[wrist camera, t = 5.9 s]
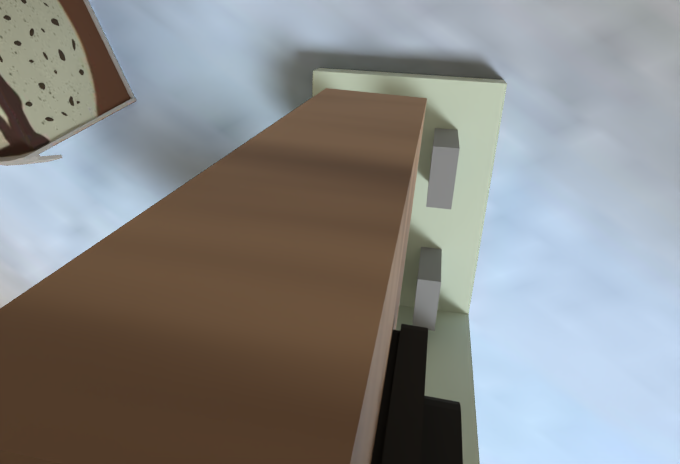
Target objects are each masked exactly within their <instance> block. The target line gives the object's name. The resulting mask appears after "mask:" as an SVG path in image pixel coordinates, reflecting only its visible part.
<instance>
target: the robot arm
mask: <svg viewBox="0 0 680 464" xmlns="http://www.w3.org/2000/svg"><path fill="white" fill-rule="evenodd" d="M427 343H428V328H426V327H419V326H413V325H407V324H401V329H400V331H399V330H393V333H392V339H391V345H390V351H389V357H388V364H387V370H386V376H385V382H384V388H383V394H382V400H381V406H380V412H379V418H378V424H377V430H376V436H375V442H374V448H373V454H372V461H371V464H463V451H462V423H461V405H460V402H457V401H452V400H446V399H441V398H435V397H430V396H424V395H425V378H426V360H427Z"/></svg>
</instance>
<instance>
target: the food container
mask: <svg viewBox="0 0 680 464" xmlns="http://www.w3.org/2000/svg"><path fill="white" fill-rule="evenodd" d="M135 101H136V99H135V97H134V95H133V93H132V91H131V89H130V86H129V84H128V82H127V80H126V78H125V76H124V74H123V72H122V70H121V68H120V66H119V64H118V61H117V59H116V57H115V55H114V53H113V51H112V49H111V47H110V45H109V43H108V41H107V38H106V36H105V34H104V32H103V30H102V28H101V26H100V24H99V22H98V20H97V18H96V16H95V13H94V11H93V9H92V7H91V5H90V3H89V1H88V0H0V165H6V166H8V165H23V164H32V163H42V162H49V161H53V160H56V159H60V158H62V156H61V155H53V156H41V157H40V155H39V154H40V153H42V152H44V151H45V150H47V149H49V148H51V147H53V146H55V145H56V144H58V143H60V142H62V141H64V140H66V139H67V138H69V137H71V136H73V135H75V134H77V133H78V132H80V131H82V130H84V129H86V128H87V127H89V126H91V125H93V124H95V123H97V122H98V121H100V120H102V119H104V118H106V117H108V116H109V115H111V114H113V113H115V112H117V111H119V110H120V109H122V108H124V107H126V106H128V105H130V104H131V103H133V102H135Z"/></svg>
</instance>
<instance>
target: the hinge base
mask: <svg viewBox="0 0 680 464" xmlns="http://www.w3.org/2000/svg"><path fill="white" fill-rule="evenodd" d="M506 86H507V83H506V82H505V81H504V80H498V79H483V78H468V77H452V76H437V75H422V74H407V73H391V72H376V71H361V70H345V69H330V68H317V69H315V70H313V84H312V97H314V96H315V95H317V94H318V93H320V92H321V91H322V90H324V89H325V88H330V89H340V90H350V91H360V92H370V93H380V94H390V95H400V96H410V97H420V98H427V103H426V110H425V117H424V125H423V132H422V140H421V147H420V154H419V162H418V169H417V177H416V184H415V191H414V199H413V206H412V214H411V221H410V229H409V236H408V243H407V251H406V258H405V266H404V273H403V280H402V288H401V295H400V303H399V310H398V317H397V325H396V330H399V331H400V329H401V324H407V325H413V326H419V327H426V328H428V343H427V360H426V378H425V395H424V396H430V397H435V398H441V399H446V400H452V401H457V402H460V405H461V423H462V451H463V464H480V463H479V450H478V436H477V423H476V410H475V396H474V383H473V370H472V356H471V343H470V330H469V316H468V314H469V308H470V302H471V296H472V290H473V284H474V278H475V272H476V266H477V260H478V254H479V248H480V242H481V236H482V230H483V224H484V218H485V212H486V206H487V200H488V194H489V188H490V182H491V176H492V170H493V164H494V158H495V152H496V146H497V140H498V134H499V128H500V122H501V116H502V110H503V104H504V98H505V92H506Z"/></svg>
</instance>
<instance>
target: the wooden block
mask: <svg viewBox="0 0 680 464" xmlns="http://www.w3.org/2000/svg"><path fill="white" fill-rule="evenodd" d="M426 103H427V98H420V97H410V96H400V95H390V94H380V93H370V92H360V91H350V90H340V89H330V88H325V89H324V90H322V91H321V92H320V93H318V94H317V95H315V96H314V97H312V98H311V99H309V100H308V101H306V102H305V103H303V104H302V105H300V106H299V107H297V108H296V109H294V110H293V111H291V112H290V113H289V114H287V115H286V116H284V117H283V118H281V119H280V120H278V121H277V122H275V123H274V124H272V125H271V126H269V127H268V128H266V129H265V130H263V131H262V132H260V133H259V134H257V135H256V136H255V137H253V138H252V139H250V140H249V141H247V142H246V143H244V144H243V145H241V146H240V147H238V148H237V149H235V150H234V151H232V152H231V153H229V154H228V155H226V156H225V157H224V158H222V159H221V160H219V161H218V162H216V163H215V164H213V165H212V166H210V167H209V168H207V169H206V170H204V171H203V172H201V173H200V174H198V175H197V176H195V177H194V178H193V179H191V180H190V181H188V182H187V183H185V184H184V185H182V186H181V187H179V188H178V189H176V190H175V191H173V192H172V193H170V194H169V195H167V196H166V197H164V198H163V199H162V200H160V201H159V202H157V203H156V204H154V205H153V206H151V207H150V208H148V209H147V210H145V211H144V212H142V213H141V214H139V215H138V216H136V217H135V218H133V219H132V220H131V221H129V222H128V223H126V224H125V225H123V226H122V227H120V228H119V229H117V230H116V231H114V232H113V233H111V234H110V235H108V236H107V237H105V238H104V239H102V240H101V241H100V242H98V243H97V244H95V245H94V246H92V247H91V248H89V249H88V250H86V251H85V252H83V253H82V254H80V255H79V256H77V257H76V258H74V259H73V260H71V261H70V262H68V263H67V264H66V265H64V266H63V267H61V268H60V269H58V270H57V271H55V272H54V273H52V274H51V275H49V276H48V277H46V278H45V279H43V280H42V281H40V282H39V283H37V284H36V285H35V286H33V287H32V288H30V289H29V290H27V291H26V292H24V293H23V294H21V295H20V296H18V297H17V298H15V299H14V300H12V301H11V302H9V303H8V304H6V305H5V306H4V307H2V308H1V309H0V464H371V461H372V454H373V448H374V442H375V436H376V430H377V424H378V418H379V412H380V406H381V400H382V394H383V388H384V382H385V376H386V370H387V364H388V357H389V351H390V345H391V339H392V333H393V330H396V325H397V317H398V310H399V303H400V295H401V288H402V280H403V273H404V266H405V258H406V251H407V243H408V236H409V229H410V221H411V214H412V206H413V199H414V191H415V184H416V177H417V169H418V162H419V154H420V147H421V140H422V132H423V125H424V117H425V110H426Z"/></svg>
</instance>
